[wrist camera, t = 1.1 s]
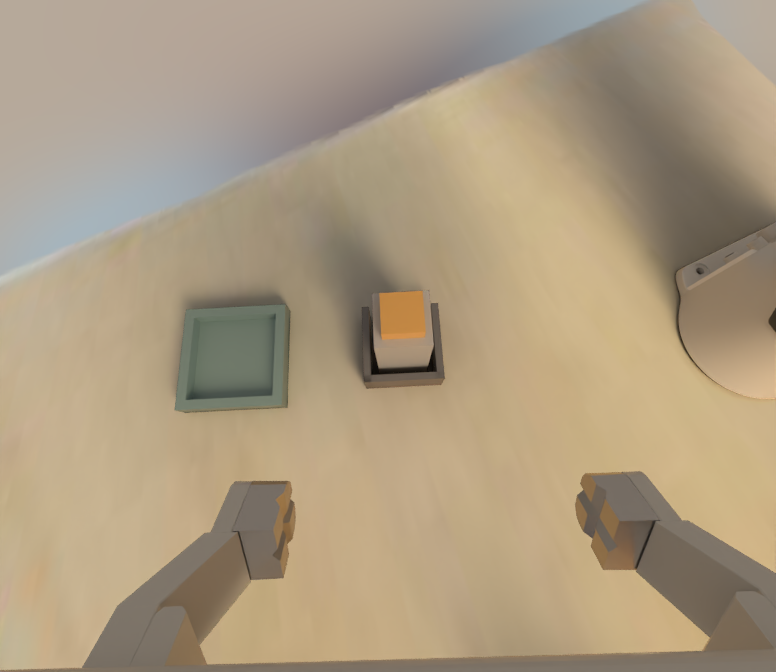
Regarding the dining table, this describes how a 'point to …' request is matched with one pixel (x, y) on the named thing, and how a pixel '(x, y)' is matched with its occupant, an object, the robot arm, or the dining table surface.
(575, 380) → the dining table surface
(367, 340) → the bay
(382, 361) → the grey pillar orange cap
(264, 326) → the tray
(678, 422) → the dining table surface
